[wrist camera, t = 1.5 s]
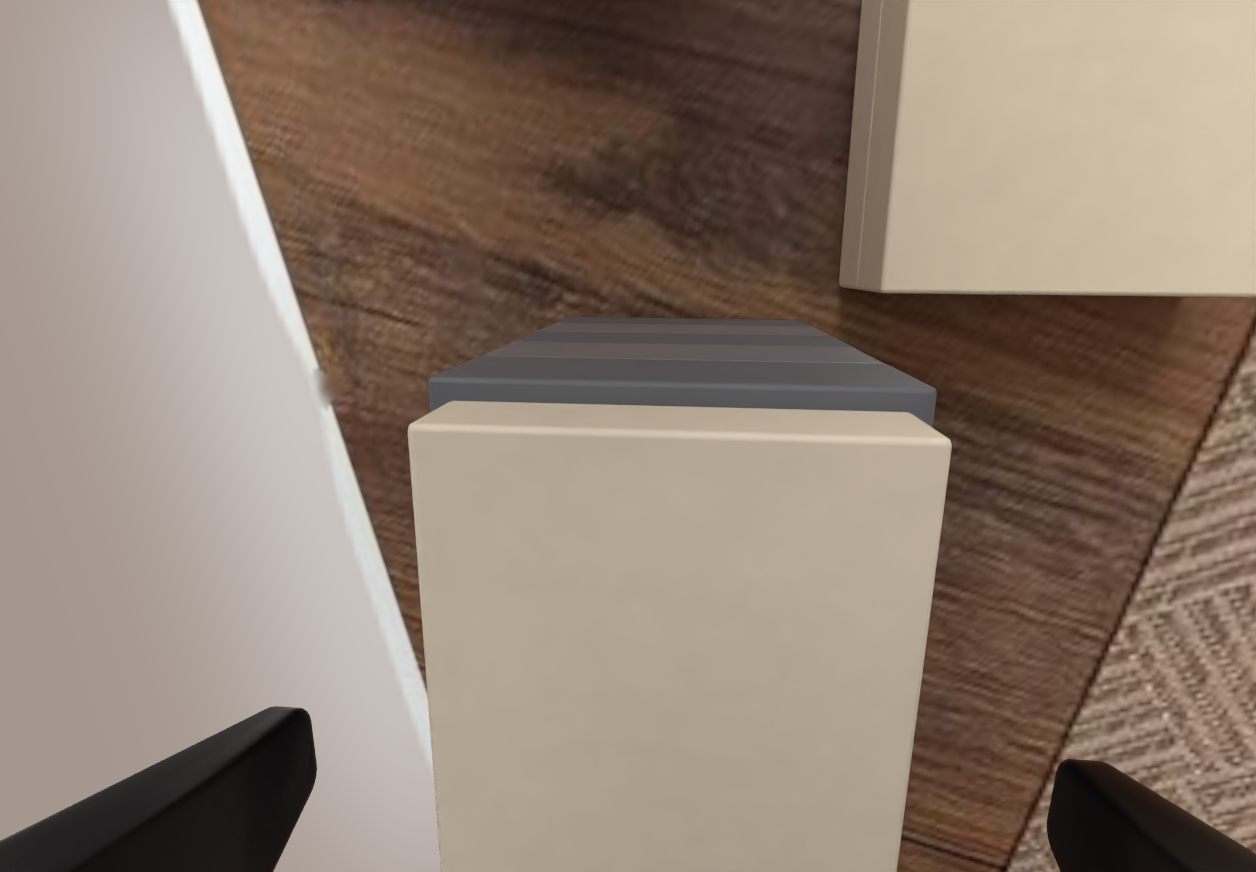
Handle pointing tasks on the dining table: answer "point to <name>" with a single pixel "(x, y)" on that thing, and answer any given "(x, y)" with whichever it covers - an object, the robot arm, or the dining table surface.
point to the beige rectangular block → (1053, 148)
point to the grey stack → (685, 368)
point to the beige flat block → (673, 633)
